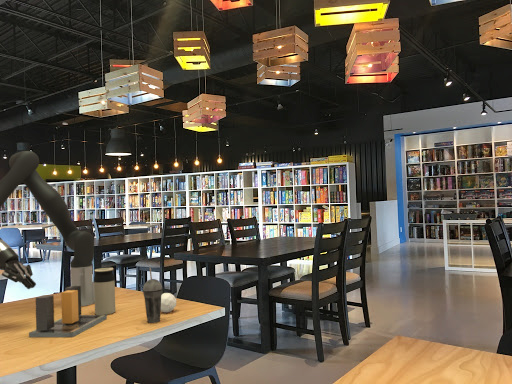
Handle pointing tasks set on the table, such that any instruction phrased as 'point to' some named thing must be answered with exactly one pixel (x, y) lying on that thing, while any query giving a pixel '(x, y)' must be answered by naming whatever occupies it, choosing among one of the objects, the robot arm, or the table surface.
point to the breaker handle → (69, 306)
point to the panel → (57, 328)
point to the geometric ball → (167, 302)
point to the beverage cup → (152, 299)
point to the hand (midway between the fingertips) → (32, 286)
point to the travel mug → (104, 291)
